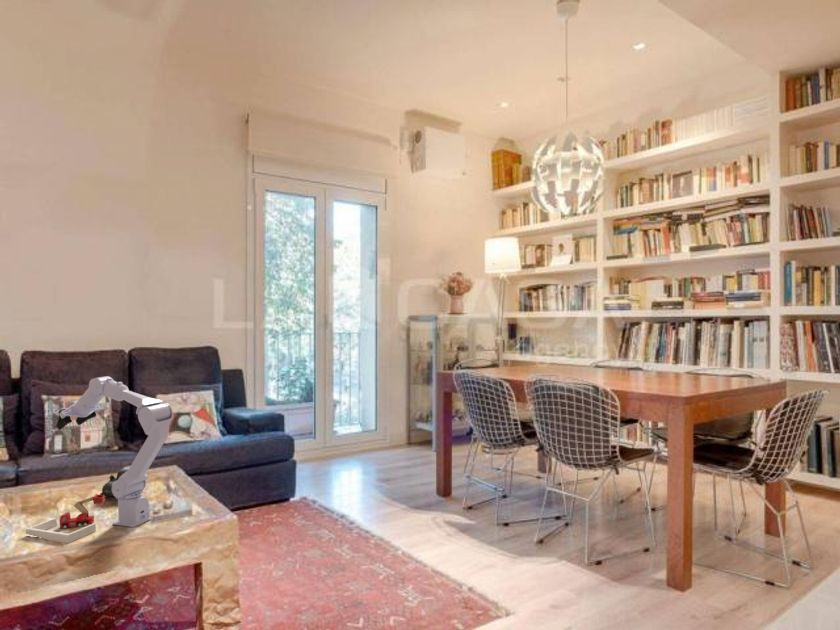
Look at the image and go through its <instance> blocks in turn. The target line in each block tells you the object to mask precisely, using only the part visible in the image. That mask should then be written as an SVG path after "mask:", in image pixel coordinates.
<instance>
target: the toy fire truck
mask: <svg viewBox="0 0 840 630" xmlns="http://www.w3.org/2000/svg"><path fill="white" fill-rule="evenodd" d="M105 500H106V497H105V495H100V494H95V495H94V496H91V497H88V498H84V499H82V500H78V501H76V503H75V504H73V507H74V508H75V509H76V510H78V511H79V512H80V513H79V514H78V516H76V517H73V518H72V517H71V512H69V511H67V512H65V513H63V514H61V516H60V517H59V528H60V529H62V528H63V529H64V530H65V529H68V528H70V527H71V528H72V527H79V528H80V527H81V528H82V526H83V527H86V526H88V525H91V524H94V522H95V516H94V515H89V514H90V513H89V512H90V511H89V510H88V509H87V508H86V507H85V505H84V504H86V503H88V502H92V503H93V505H97V504H103V503H104V502H105Z"/></svg>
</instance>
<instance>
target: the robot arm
mask: <svg viewBox="0 0 840 630" xmlns="http://www.w3.org/2000/svg"><path fill="white" fill-rule="evenodd" d="M104 397H108V398H110V399H112V400H114V401H116V402H122V401H126V403H129V404H131V405H133V406H135V407H137V408H136V412H135V414H136V415H137V418H138V422H139V423H140V426H141V428H142V429H143V432H144V434H145V435H147V438H146V439H145V441H144V442H143V444H142V447H141V448H140V449H139V451H138V453H137V455H136V456H135V457H134V460H133V461H132V463H131V464H130V465H129V466H130V468H129V470H128V471H126V472H125V473H124V474H122V475H121V476H120V477H119V479H118V480H117V481H115V482H114V483H113V484H112V493H113V495H114V496H113V497H114V498H115V499H116V500H117V510H118V513H117V514H118V520H115V521H114V522H112V525H115V526H121V527H122V526H124V527H129V528H135V527H136V526H140V525H141V524H143V523H145V522H148V521H150V520H152V517H150V504H149V499H147V498H146V497H144V496H143V495H142V494H143V493H144V492H143V491H144V490H145V489H146V486H147V480H148V479H149V476H148V474H147V472H148V470H149V469H150V467H151V465H152V463H154V460H155V458H156V457H157V455H158V453H159V452H160V450H161V448H162V447H163V445H164V443H165V442H166V440H167V438H168V435H169V429H170V424H171V422H172V420H173V419H174V416H175V415H174V412H173V409H172V407H171V405H170V404H169V403H167V402H164V401H163V400H161V399H157V398H155V397H154V398H153V397H149V396H147V395H144V394H140V393H137V392H134V391H132V390H129V387H128V386H127V385H126V384H123V382H122V381H115V380H114V379H113V378H112V377H111V376H108V375H107V376H100V377H94V378H91V379H90V381H89V382H88V388H87V389H86V390H85V392H84V393H83V394H82V395H81V396H80V397H79V399H78V400H73V403H72V405H70V406H69V407H68V408H62V409H60V410H59V411H58V420H57V422H56V428H57V429H58V430H63V429H64V428H65V427H66V426H67V425H68V424H70V423H73V421H72V419H71V418H72V417H75V418H76V419H75V423H76V424H77V426H81V425H83V424H84V423H85V422H87V421H88V420H90V419H93V418H95V417H96V416H97V413H96V412H98V411H99V410H100V409H101V407H100V405H99V403H100V401H102V399H103V398H104Z"/></svg>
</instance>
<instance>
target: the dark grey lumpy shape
mask: <svg viewBox="0 0 840 630" xmlns="http://www.w3.org/2000/svg"><path fill="white" fill-rule="evenodd" d="M130 466H131V465H127V466H123V468H122V469H120V470H119V471H118V472H117V475H116V477H115V476H114V475H113V474H111V475H110V476H109V480H108V481H107V482H106V483H104V485H102V490H101V492H100V493H99V495H105V496H107V497H115V496H114V495H113V493H112V484H113V483H114V482H115V481H117V480H118V479H119V477H120V476H121V475H122V474H124V473H125V472H126V471H128V470H129V468H130Z"/></svg>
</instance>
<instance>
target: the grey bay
mask: <svg viewBox="0 0 840 630" xmlns="http://www.w3.org/2000/svg"><path fill="white" fill-rule="evenodd" d="M57 523H58V522H57V517H54V518H51V519H48V520H45V521H43V522H40V523H37V524H34V525H33V526H30V527H28V528H25V535H26V534H29V535H33V536H37V537H41V538H44V539H43V540H45V539H47V540H46V541H54V542H58V543H66V544H70V543H72V542H74V541H77V540H79V539H82V538H84V537H86V536H87V535H91V534H92V533H96V527H97V526H96V525H97V524H96V523H92V524H90V525H89V524H88V525H87V526H83V527H81V528H79V529H76V530H73V531H72V532H70V533H66V532H59V531H52V530H49V529H51V528H54V527H56V526H57V525H58V524H57Z"/></svg>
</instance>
